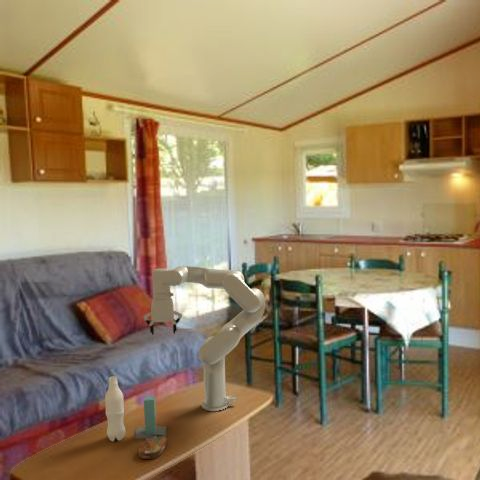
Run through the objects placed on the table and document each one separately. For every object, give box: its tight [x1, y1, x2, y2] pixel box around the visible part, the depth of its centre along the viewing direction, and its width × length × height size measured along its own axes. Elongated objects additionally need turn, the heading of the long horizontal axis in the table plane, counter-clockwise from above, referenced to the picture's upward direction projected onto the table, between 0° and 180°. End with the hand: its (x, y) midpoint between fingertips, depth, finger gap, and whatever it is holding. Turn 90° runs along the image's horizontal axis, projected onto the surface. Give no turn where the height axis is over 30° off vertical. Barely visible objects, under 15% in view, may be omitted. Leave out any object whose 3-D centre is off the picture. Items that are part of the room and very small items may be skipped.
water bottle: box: [104, 375, 126, 442], centre depth 209 cm, size 7×7×25 cm
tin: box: [138, 434, 168, 460], centre depth 200 cm, size 15×3×8 cm
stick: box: [143, 395, 157, 434], centre depth 213 cm, size 4×4×14 cm
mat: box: [134, 425, 167, 440], centre depth 214 cm, size 12×9×1 cm
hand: (163, 333), depth 239 cm, fingers open, 9 cm apart
